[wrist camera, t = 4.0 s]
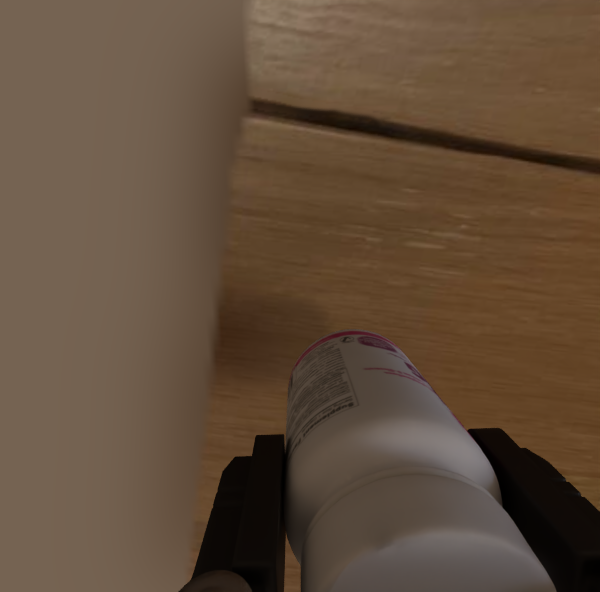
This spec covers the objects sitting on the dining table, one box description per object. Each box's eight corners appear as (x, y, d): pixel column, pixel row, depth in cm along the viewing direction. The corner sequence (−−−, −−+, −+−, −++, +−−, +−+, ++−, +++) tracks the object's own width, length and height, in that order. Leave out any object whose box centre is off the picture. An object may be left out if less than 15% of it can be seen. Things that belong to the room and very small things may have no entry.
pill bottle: (437, 376, 13) (660, 626, 5) (355, 459, 14) (437, 793, 6) (344, 299, 13) (431, 450, 4) (263, 392, 14) (212, 665, 5)
